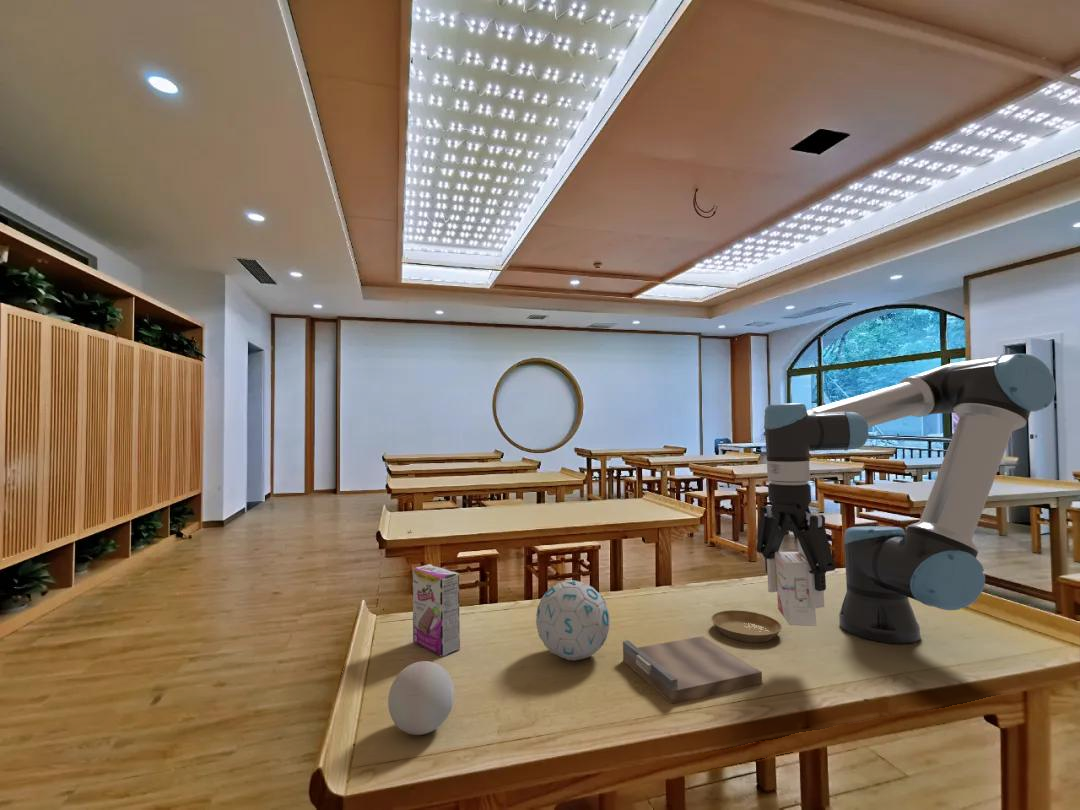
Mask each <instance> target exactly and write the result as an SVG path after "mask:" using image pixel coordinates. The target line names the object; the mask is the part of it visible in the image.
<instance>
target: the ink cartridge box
mask: <svg viewBox="0 0 1080 810" xmlns="http://www.w3.org/2000/svg"><path fill="white" fill-rule="evenodd" d="M796 541H797V546H798V551H778V552H775V562H776V578H777V593H776V594H777V595H776V596H777V609H778V611H779V612H780V613H781V615H782V617H783V618H784V620H785V621H786V622H787V623H788V625H789V626H797V627H798V626H802V627H803V626H804V627H806V626H807V627H816V626H817V619H816V617H817V615H816V614H817V613H816V609H812V608H810V601H809V584H808V572H809V571H811V568H810V565H809V563H808V561H807V558H806V556H805V554H804V552H803V549H802V547H801V545H800V543H799V540H798V538H797V537H796Z"/></svg>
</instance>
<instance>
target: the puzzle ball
mask: <svg viewBox="0 0 1080 810" xmlns="http://www.w3.org/2000/svg"><path fill="white" fill-rule="evenodd" d="M535 625H536V630H537V632H538V637H539V638H540V640H541V641H542V643H543V644H544V646H545V648H547V650H548V651H550V652H551V653H553V654H554V655H556V656H559V657H560V658H563V659H564V660H567V661H579V660H583V659H586V658H589V657H591V656H592V655H595V654H596V653H597V652H598V651H599V650H600V649H601V647H603V646H604V643H605V641H606V639H607V637H608V635H609V630H610V611H609V609H608V605H607V603H606V600H605V599H604V597H603V595H602V594H601V593H599V592H598V591H597V590H596V589H595V587H593V586H592V585H589V584H587V583H585V582H582V581H579V580H576V579H574V580H573V579H571V580H567V581H561V582H558V583H556V584H555V585H553V586H552V587H550V588H549V589H548V590H547V591H546V592H545V593H544V594H543V596H542V597H541V599H540V601H539V603H538V605H537V610H536V617H535Z"/></svg>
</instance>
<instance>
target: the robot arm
mask: <svg viewBox="0 0 1080 810" xmlns="http://www.w3.org/2000/svg"><path fill="white" fill-rule="evenodd" d="M1055 395H1056V382H1055V378H1054V376H1053V375H1052V372H1051V370H1050V368H1049V367H1048V366H1047V365H1046V364H1045V363H1044V362H1043V361H1042V360H1041V359H1040V358H1038V357H1036V356H1034V355H1032V354H1027V353H1013V354H1010V353H1009V354H1008V353H1004V354H1000V355H998V356H997V355H996V356H991V357H990V356H989V357H985V358H984V357H983V358H976V359H970V360H961V361H955V362H950V363H947V364H944V365H941V366H938V367H935V368H932V369H929V370H926V371H923V372H920V373H917V374H915V375H910V376H908V377H905V378H902V379H901V380H899V383H898V384H895V385H892V386H889V387H884V388H881V389H877V390H874V391H869V392H867V393H863V394H859V395H856V396H852V397H849V398H844V399H842V400H837V401H834V402H831V403H827V404H823V405H820V406H816V407H813V408H809V409H807V407H806V404H804V403H800V402H799V403H798V402H797V403H774V404H769V405H767V406H766V407H765V409H764V416H763V417H764V419H763V420H764V425H763V429H764V436H765V453H766V467H767V468H766V471H767V480H768V481H769V482H770V483H769V484H767V490H768V491H767V492H768V493H767V494H768V501H769V502H770V503H772V504H771V505H765V506H760V507H759V515H760V521H759V527H758V534H757V535H758V536H757V543H756V549H755V550H756V552H757V553H759V554H761V555H762V556H763V558H764V563H765V572H766V574H767V586H768V587H767V588H768V589H767V590H768V593H775V592H777V578H776V562H775V552H779V551H780V548H781V545H782V543H783V540H784V538H785V536H786V533H787V531H789V532H790V533H792V534H793V536H794V537H795V538H796V539H797V538H798V540H799V543H800V545H801V547H802V549H803V552H804V554H805V556H806V558H807V561H808V563H809V565H810V568H811V571H809V572H808V584H809V601H810V608H812V609H815V610H816V609H820V608H825V593H824V592H825V591H826V590H827V583H826V582H827V581H826V580H827V579H826V574H827V572H832V571H835V570H836V565H835V561H834V557H833V552H832V549H831V546H830V542H829V538H828V535H827V534H828V533H827V531H826V517H825V515H823V514H818V515H816V514H814V513H812V512H811V510H810V508H809V506H810V503H811V502H812V489H811V486H812V485H810V483H808V482H810V481H811V471H810V470H811V469H810V452H814V451H815V452H817V451H848V450H849V451H850V450H857V449H860V448H862V447H863V446H864V445H865V444H866V443H867V441H868V439H869V436H870V435H869V428H871V427H874V426H878V425H881V424H885V423H888V422H892V421H896V420H900V419H903V418H906V417H909V416H913V417H915V418H922V417H926V416H930V415H936V414H955V415H956V416H957V418H958V421H957V424H956V426H955V429H954V432H953V434H952V436H951V438H950V442H949V445H948V447H947V449H946V452H945V454H944V457H943V460H942V462H941V464H940V465H941V466H940V468H939V470H938V473H937V476H936V477H935V480H934V483H933V486H932V488H931V491H930V493H929V496H928V498H927V501H926V504H925V506H924V508H923V511H922V514H921V515H920V516H921V517H920V519H919V521H917V522H914V523H911V524H908V525H907V527H906V528H905V529H906V530H905V529H904V528H903V527H900V526H886V525H885V526H881V525H880V526H873V525H871V526H865V525H864V526H852V527H848V528H846V530H845V532H844V541H843V547H844V564H845V565H844V566H845V578H846V579H845V581H846V583H845V584H846V592H845V596H844V599H843V602H842V604H841V608H840V611H839V614H838V618H839V626H840V627H841V628H842V629H843V630H845V631H846V632H848V633H850V634H852V635H854V636H857V637H860V638H864V639H867V640H871V641H874V642H880V643H887V644H913V643H916V642H918V641H919V640H920V639H921V627H920V625H919V624H920V623H918V621H917V618H916V614H915V613H914V609H913V607H912V605H911V603H910V599H913V600H915V601H917V602H920V603H921V604H923V605H925V606H928V607H933V608H937V609H941V610H943V611H959V610H961V609H962V608H967V607H970V606H971V605H972V604H973V603H975V602H976V601H977V599H978V598H979V597H980V596H981V595H982V593H983V590H984V588H985V585H986V574H984V573H983V572H985V570H984V567H983V565H982V563H981V562H980V561H979V560H978V559H977V557H978V554H979V549H978V548H977V547H976V545H975V544H974V542H973V537H974V535H975V532H976V529H977V527H978V524H979V522H980V519H981V516H982V513H983V511H984V507H985V505H986V502H987V500H988V498H989V496H990V495H989V494H990V492H991V489H992V487H993V484H994V483H995V482H994V481H995V479H996V477H997V474H998V471H999V468H1000V465H1001V463H1002V460H1003V458H1004V454H1005V451H1006V450H1007V447H1008V445H1009V441H1010V440H1011V439H1010V438H1011V436H1012V435H1013V432H1014V431H1017V430H1019V429H1022V428H1024V427H1026V426H1027V423H1028V419H1029V417H1030V414H1031V412H1038V411H1042V410H1043V409H1045V408H1047V407H1049V406H1050V405H1052V402H1053V400H1054V398H1055Z"/></svg>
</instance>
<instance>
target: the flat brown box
mask: <svg viewBox="0 0 1080 810" xmlns="http://www.w3.org/2000/svg"><path fill="white" fill-rule="evenodd" d="M622 655H623V656H622V657H623V658H622V659H623V660H622V661H623V662H624V663H625V664H627V665H628V666H629V667H630V668H631V669H632V670H634V672H636V673H637V674H638V675H639V676H640V677H641V678H642V679H643V680H644V681H646V683H648V684H649V685H650V686H652V688H654V689H655V691H657V692H658V693H659V694H661V695H662V696H663V697H664V698H665V700H667V701H668V702H669V703H671V704H676V703H681V702H686V701H689V700H694V699H699V698H703V697H707V696H712V695H716V694H721V693H724V692H729V691H734V690H738V689H739V690H740V689H742V688H746V687H751V686H756V685H761V684H763V672H762V670H759V669H758V668H756V667H755V666H753V665H751V664H749V663H748V662H746V661H744V660H743V659H741V658H739V657H738V656H736V655H734V654H733V653H732V652H730V651H728V650H726V649H724V648H723V647H721V646H720V645H718V644H717V643H715V642H713V641H711V640H710V639H708V638H706V637H705V636H703V635H702V636H696V637H695V636H694V637H690V638H686V639H685V638H684V639H679V640H673V641H668V642H662V643H656V644H651V645H647V646H640V647H637V646H636V645H634V644H633V642H631V641H629V640H623V641H622Z"/></svg>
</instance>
